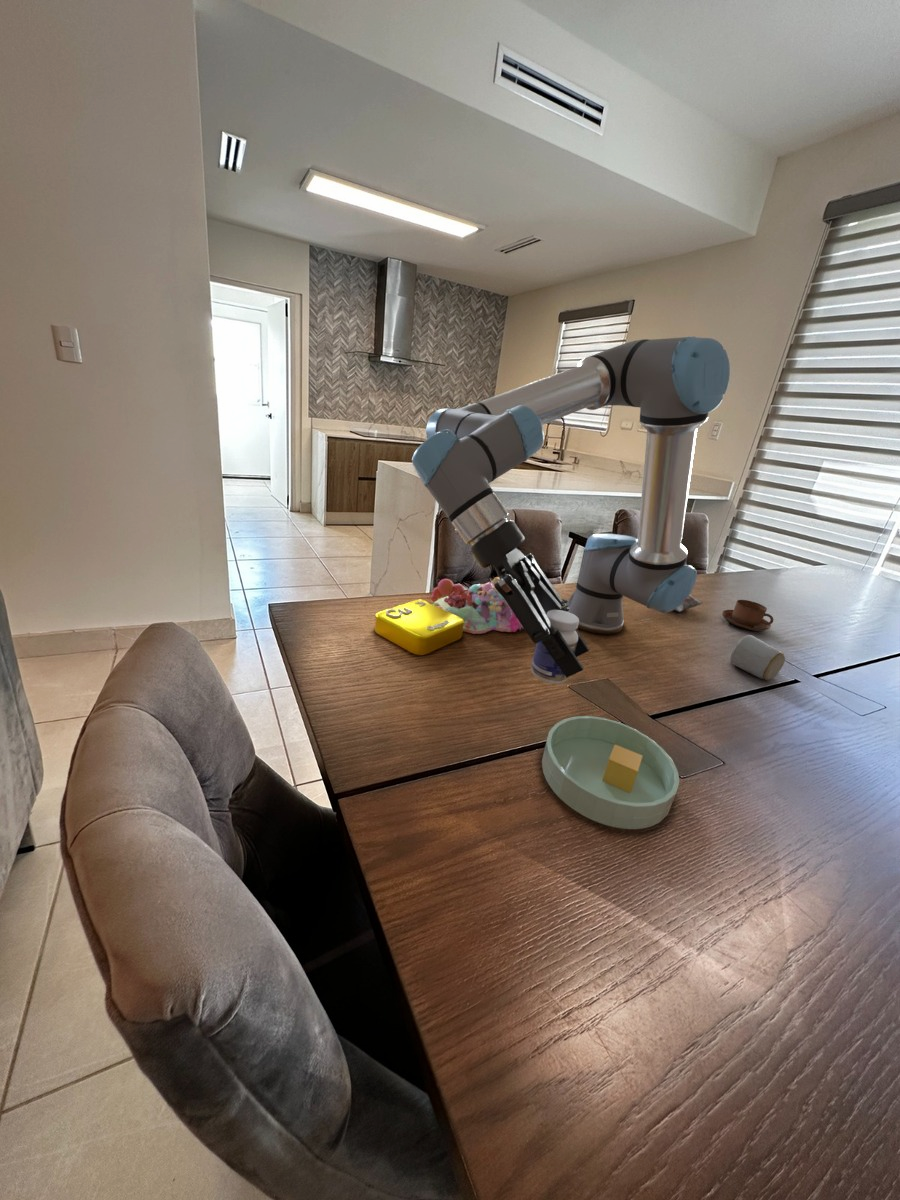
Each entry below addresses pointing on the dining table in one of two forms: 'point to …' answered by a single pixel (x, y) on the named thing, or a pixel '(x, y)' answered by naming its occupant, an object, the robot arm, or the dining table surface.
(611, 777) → the block
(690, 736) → the dining table surface
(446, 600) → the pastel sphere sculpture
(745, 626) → the cup and saucer
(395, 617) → the element tile
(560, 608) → the robot arm
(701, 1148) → the dining table surface
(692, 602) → the packaged food
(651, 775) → the bowl
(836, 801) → the dining table surface
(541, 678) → the pill bottle
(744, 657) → the ceramic mug
